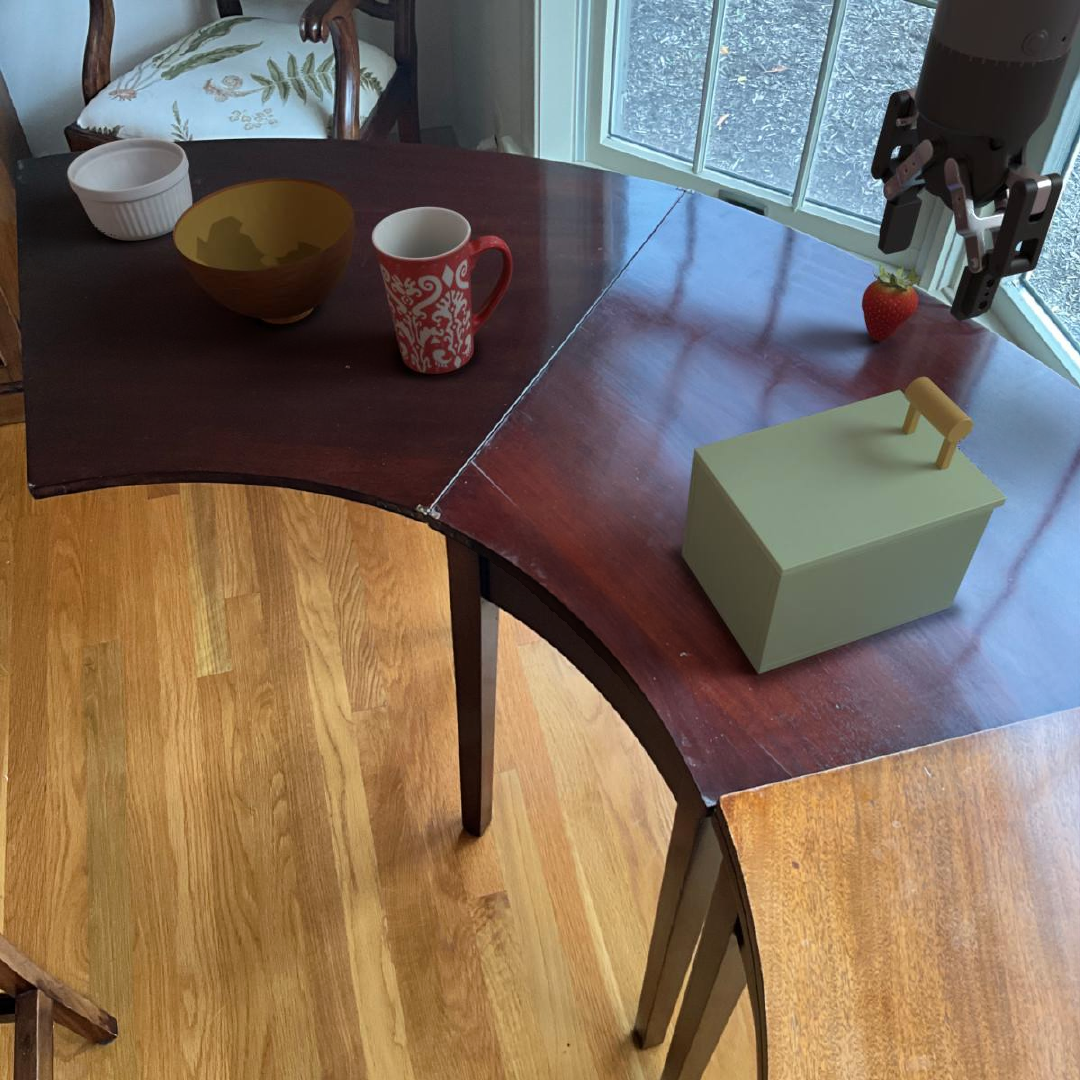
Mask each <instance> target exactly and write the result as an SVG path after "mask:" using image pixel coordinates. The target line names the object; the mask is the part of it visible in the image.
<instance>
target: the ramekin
mask: <svg viewBox="0 0 1080 1080" xmlns="http://www.w3.org/2000/svg"><path fill="white" fill-rule="evenodd" d="M189 167H190V165H189V160H188V156H187V154H186V152H185V149H183V148H182V146H181V145H179V144H177V143H175V142H173V141H170V140H166V139H162V138H157V137H156V138H155V137H133V138H124V139H119V140H115V141H110V142H106V143H103V144H100V145H98V146H95V147H93V148H91V149H88V150H86V151H85V152H83V153H82V154H80V155H78V156H77V157H76V158H75V159H74V160H73V161H72V162H71V163H70V164H69V166H68V167H67V171H66V176H67V180H68V182H69V186H70V187H71V189H72V190H73V192H74V193H75V194H76V195H77V197H78V199H79V201H80V203H81V205H82V207H83V209H84V211H85V213H86V214H87V216H88V218H89V220H90V222H91V224H92V225H93V224H94V225H93V226H94V227H95V228H96V227H97V228H98V229H97V228H96V229H97V230H98V231H100V230H101V231H100V233H103V232H105V233H103V234H104V235H105V236H107V237H110V238H112V239H114V240H120V241H144V240H149V239H155V238H158V237H161V236H164V235H166V234H169V233H171V232H173V230H174V227H175V224H176V222H177V220H178V219H179V218H180V216H181V215H182V214H183V213H184V212H185V211H186V210H187V209H188V208H189V207H190V206H192V205H193V195H192V193H193V192H192V187H191V182H190V174H189ZM110 234H112V235H110ZM114 235H116V236H114Z"/></svg>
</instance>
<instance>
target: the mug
mask: <svg viewBox="0 0 1080 1080" xmlns="http://www.w3.org/2000/svg"><path fill="white" fill-rule="evenodd" d="M471 235H472V228H471V225H470V223H469V222H468V220H467V219H466V218H465V216H463V215H462V214H461V213H459V212H456V211H455V210H451V209H448V208H445V207H437V206H420V207H412V208H407V209H403V210H399V211H397V212H394V213H392V214H390V215H388V216H386V217H384V218H382V220H381V221H379V222H378V223H377V224H376V225H375V226H374V228H373V229H372V233H371V243H372V245H373V248H374V249H375V251H376V255H377V260H378V263H379V267H380V272H381V277H382V280H383V284H384V288H385V294H386V297H387V301H388V305H389V310H390V314H391V318H392V323H393V326H394V330H395V331H394V332H395V334H396V339H397V343H398V347H399V353H400V355H401V359H402V361H403V363H404V364H405V365H406V366H407V368H409V369H410V370H413V371H415V372H418V373H421V374H426V375H439V374H440V375H441V374H447V373H450V372H453V371H455V370H457V369H459V368H461V367H463V366H465V365H466V364H467V363H468V362H469V361H470V360H471V358H472V357H473V355H474V349H475V343H474V337H475V335H476V333H478V331H479V330H480V329H481V327H482V326H483V325H484V324H485V323H486V322H487V320H488V319H489V318H490V316H492V314H493V312H494V311H495V310H496V309H497V307H498V305H500V302H501V301H502V300H503V297H504V296H505V294H506V292H507V290H508V288H509V285H510V283H511V280H512V276H513V268H514V262H513V255H512V252H511V250H510V248H509V246H508V244H507V243H506V242H505V241H504V240H503V239H502V238H500V237H498V236H496V235H483V236H480V237H478V238H476V239H474V240H472V241H470V239H471ZM489 250H496V251H499V252H500V253H501V255H502V269H501V273H500V275H499V278H498V280H497V282H496V283H495V286H494V287H493V289H492V290H491V292H490V294H489V295H488V296H487V298H486V299H485V301H484V302H483V304H482V305H480V307H479V308H478V309H477V310H476V311H475V312H473V305H472V304H473V302H472V301H473V300H472V278H471V277H472V276H471V272H472V271H473V270H474V269H475V267H476V264H477V262H478V260H479V258H480V256H481V255H482V254H484V253H485V252H487V251H489Z"/></svg>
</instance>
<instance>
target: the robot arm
mask: <svg viewBox="0 0 1080 1080" xmlns="http://www.w3.org/2000/svg"><path fill="white" fill-rule="evenodd" d="M1079 28H1080V0H937V4H936V8H935V11H934V16H933V20H932V24H931V28H930V33H929V37H928V40H927V44H926V49H925V53H924V57H923V61H922V65H921V68H920V73H919V77H918V80H917V84H916V87H910V88H905V89H903V90H898V91H893V92H892V93H891V94H890V96H889V99H888V103H887V107H886V110H885V112H884V113H885V114H884V117H883V120H882V124H881V129H880V133H879V136H878V140H877V143H876V148H875V151H874V155H873V158H872V162H871V166H870V174H871V176H872V178H873V179H874V180H876V181H877V180H881V181H882V183H883V189H882V193H883V197H884V199H885V200H886V203H885V207H884V210H883V214H882V218H881V223H880V226H879V230H878V231H879V234H878V235H879V237H878V238H879V239H878V243H877V249H879V251H880V252H882V253H883V254H884V255H890V254H895V253H900V252H903V251H906V250H907V249H909V248H910V246H911V244H912V240H913V237H914V234H915V230H916V226H917V223H918V220H919V215H920V212H921V207H922V205H923V200H922V199H921V198H920V196H918V195H921V194H923V193H924V192H925V191H927V192H928V193H929V194H930V195H932V196H935V197H939V198H940V199H941V201H942V202H943V203H944V205H945V206H946V207H947V208H948V209H949V210H951V211H952V212H953V219H954V227H955V231H956V233H957V235H958V236H960V237H962V238H963V240H964V246H965V254H966V262H967V265H965V266H964V267H963V270H962V273H961V276H960V279H959V282H958V285H957V289H956V291H955V294H954V298H953V300H952V303H951V307H950V310H949V314H950V315H951V316H952V317H953V318H955V319H956V321H958V322H962V321H966V320H969V319H973V318H977V317H980V316H982V315H983V314H987V313H988V311H989V310H990V309H991V307H992V305H993V302H994V300H995V295H996V294H997V291H998V288H999V285H1000V282H1001V281H1002V280H1001V279H1004V278H1007V277H1012V276H1015V275H1019V274H1024V273H1028V272H1033V271H1034V270H1035V269H1036V268H1037V266H1038V264H1039V259H1040V257H1041V254H1042V251H1043V248H1044V245H1045V242H1046V238H1047V236H1048V233H1049V228H1050V226H1051V223H1052V221H1053V217H1054V215H1055V211H1056V208H1057V205H1058V202H1059V200H1060V196H1061V193H1062V189H1063V187H1064V186H1063V184H1064V180H1063V178H1062V176H1061V175H1060V174H1059V173H1058V172H1052V173H1046V174H1039V173H1037V172H1036V171H1034V170H1032V169H1031V168H1029V167H1027V146H1028V143H1029V141H1030V139H1031V137H1032V136H1033V135H1034V134H1035V132H1037V130H1038V129H1039V128H1040V127H1041V126H1042V125H1043V123H1044V122H1045V121H1046V120H1047V118H1048V116H1049V115H1050V112H1051V108H1052V106H1053V103H1054V100H1055V97H1056V95H1057V91H1058V89H1059V86H1060V83H1061V80H1062V77H1063V75H1064V71H1065V68H1066V66H1067V62H1068V60H1069V57H1070V54H1071V52H1072V48H1073V46H1074V43H1075V40H1076V37H1077V34H1078V31H1079ZM898 147H899V150H898V153H897V157H892V156H893V153H894V150H895V149H896V148H898ZM991 203H993V205H994V211H993V213H992V214H991V215H988V216H985V217H979V216H977V215H976V213H975V210H977V209H981V208H984V207H986V206H988V205H990V204H991ZM986 230H987V231H988V230H989V231H990V233H991V240H992V247H993V248H989V249H986V247H987V246H986V241H985V232H986ZM1020 243H1021V244H1020ZM1019 244H1020V246H1019V250H1017V248H1018V245H1019Z"/></svg>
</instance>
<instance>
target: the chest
mask: <svg viewBox="0 0 1080 1080" xmlns="http://www.w3.org/2000/svg"><path fill="white" fill-rule="evenodd" d="M691 463H692V464H691V473H690V480H689V489H688V498H687V504H686V505H687V506H686V515H685V523H684V531H683V541H682V549H681V557H682V558H683V560H684V561H685V563H686V565H687V566H688V568H690V570H691V572H692V573H693V575H694V577H695V578H696V580H697V581H698V583H699V585H700V586H701V588H702V589H703V591H704V592H705V594H706V596H707V597H708V599H709V600H710V602H711V603H712V605H713V606H714V608H715V609H716V611H717V612H718V614H719V616H720V617H721V620H723V622H724V623H725V625H726V627H727V629H729V631H730V633H731V635H732V636H733V637H734V639H735V640H736V642H737V644H738V645H739V647H740V648H741V650H742V652H743V653H744V655H745V656H746V658H747V659H748V661H749V663H750V664H751V666H752V667H753V668H754V671H756V673H757V675H761V674H763V673H766V672H769V671H772V670H775V669H778V668H781V667H784V666H786V665H789V664H790V665H791V664H793V663H795V662H798V661H802V660H803V659H806V658H809V657H812V656H815V655H818V654H821V653H824V652H827V651H830V650H834V649H835V648H839V647H841V646H845V645H847V644H850V643H853V642H857V641H858V640H862V639H865V638H868V637H870V636H873V635H875V634H879V633H881V632H884V631H885V632H886V631H887V630H890V629H894V628H896V627H899V626H902V625H905V624H908V623H911V622H914V621H916V620H920V619H922V618H926V617H928V616H931V615H935V614H937V613H940V612H943V611H945V610H946V611H947V610H949V609H951V608H952V605H953V603H954V601H955V599H956V596H957V594H958V592H959V589H960V587H961V585H962V582H963V580H964V578H965V576H966V573H967V570H968V569H969V567H970V564H971V563H972V559H973V557H974V555H975V553H976V551H977V548H978V546H979V544H980V542H981V540H982V537H983V535H984V534H985V533H984V532H985V530H986V528H987V526H988V523H989V521H990V519H991V517H992V514H993V512H994V511H995V508H994V509H991V510H988V511H985V512H981V513H978V514H975V515H972V516H969V517H966V518H963V519H960V520H957V521H954V522H951V523H947V524H944V525H941V526H938V527H935V528H932V529H929V530H926V531H923V532H920V533H917V534H913V535H910V536H907V537H904V538H901V539H898V540H895V541H892V542H889V543H886V544H883V545H879V546H876V547H873V548H870V549H867V550H864V551H861V552H858V553H855V554H852V555H849V556H845V557H842V558H839V559H836V560H833V561H830V562H827V563H824V564H821V565H818V566H815V567H811V568H808V569H805V570H802V571H799V572H796V573H793V574H790V575H787V576H784V577H780V576H779V574H778V573H777V571H776V570H775V569H774V567H773V566H772V564H771V563H770V562H769V560H768V559H767V557H766V556H765V555H764V553H763V552H762V551H761V549H760V548H759V546H758V545H757V544H756V542H755V541H754V539H753V538H752V537H751V535H750V534H749V532H748V531H747V530H746V528H745V527H744V526H743V524H742V523H741V521H740V520H739V519H738V517H737V516H736V514H735V513H734V512H733V510H732V509H731V507H730V506H729V505H728V503H727V502H726V500H725V499H724V498H723V496H722V495H721V494H720V492H719V491H718V489H717V488H716V487H715V485H714V484H713V482H712V481H711V480H710V478H709V477H708V475H707V474H706V473H705V471H704V470H703V468H702V467H701V466H700V464H699V463H698V462H697V460H696V459H695V457H694V456H693V457H692V462H691Z"/></svg>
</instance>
